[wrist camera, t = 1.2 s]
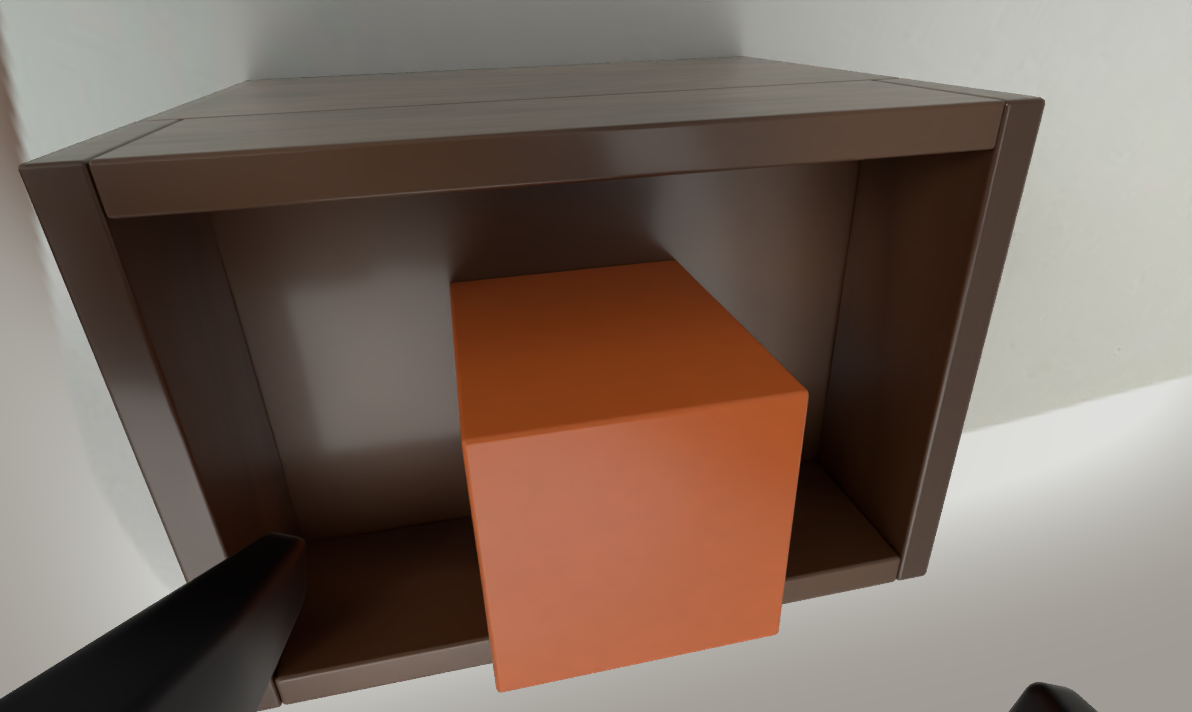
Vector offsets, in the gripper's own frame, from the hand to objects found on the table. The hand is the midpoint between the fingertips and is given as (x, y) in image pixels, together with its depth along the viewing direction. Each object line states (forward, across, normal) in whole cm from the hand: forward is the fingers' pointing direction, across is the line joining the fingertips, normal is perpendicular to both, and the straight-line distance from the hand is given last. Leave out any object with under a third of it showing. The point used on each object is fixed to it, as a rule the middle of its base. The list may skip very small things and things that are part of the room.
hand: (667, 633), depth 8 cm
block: (+7, +2, 0) cm, 7 cm away
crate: (+14, +4, 0) cm, 14 cm away
